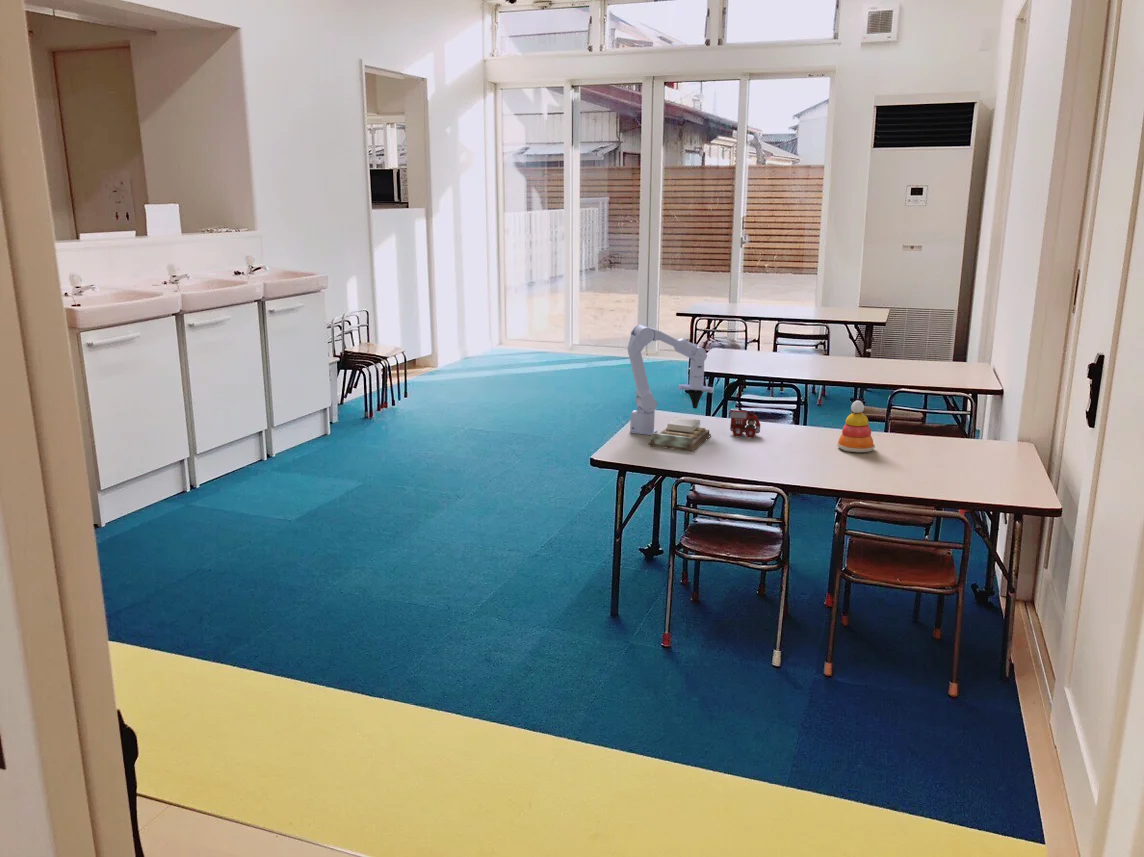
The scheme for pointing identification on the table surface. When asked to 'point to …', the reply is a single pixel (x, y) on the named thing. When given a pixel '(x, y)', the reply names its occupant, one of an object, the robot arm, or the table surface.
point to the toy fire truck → (744, 423)
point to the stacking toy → (856, 431)
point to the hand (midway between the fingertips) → (695, 408)
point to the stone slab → (683, 424)
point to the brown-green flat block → (679, 439)
